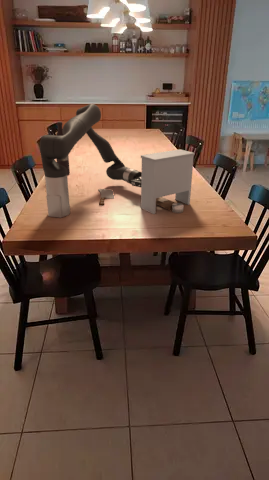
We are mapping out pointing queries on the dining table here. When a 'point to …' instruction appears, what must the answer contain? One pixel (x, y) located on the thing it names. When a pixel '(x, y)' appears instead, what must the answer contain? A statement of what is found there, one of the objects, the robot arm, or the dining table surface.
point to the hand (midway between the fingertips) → (154, 185)
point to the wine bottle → (65, 161)
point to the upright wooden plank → (164, 203)
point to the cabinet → (166, 177)
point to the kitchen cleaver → (105, 195)
